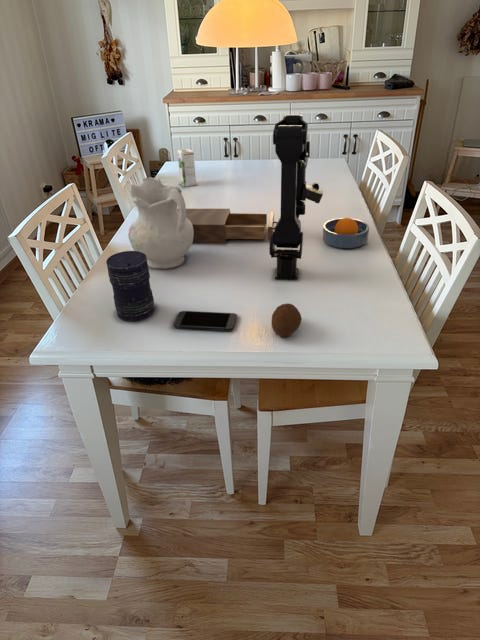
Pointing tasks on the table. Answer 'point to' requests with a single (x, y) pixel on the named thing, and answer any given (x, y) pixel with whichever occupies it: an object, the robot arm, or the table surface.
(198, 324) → the smartphone
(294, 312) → the potato
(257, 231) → the drawer
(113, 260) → the storage jar
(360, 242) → the bowl
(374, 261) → the table surface
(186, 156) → the syrup box
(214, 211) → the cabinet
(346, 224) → the orange
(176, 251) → the ceramic pitcher
